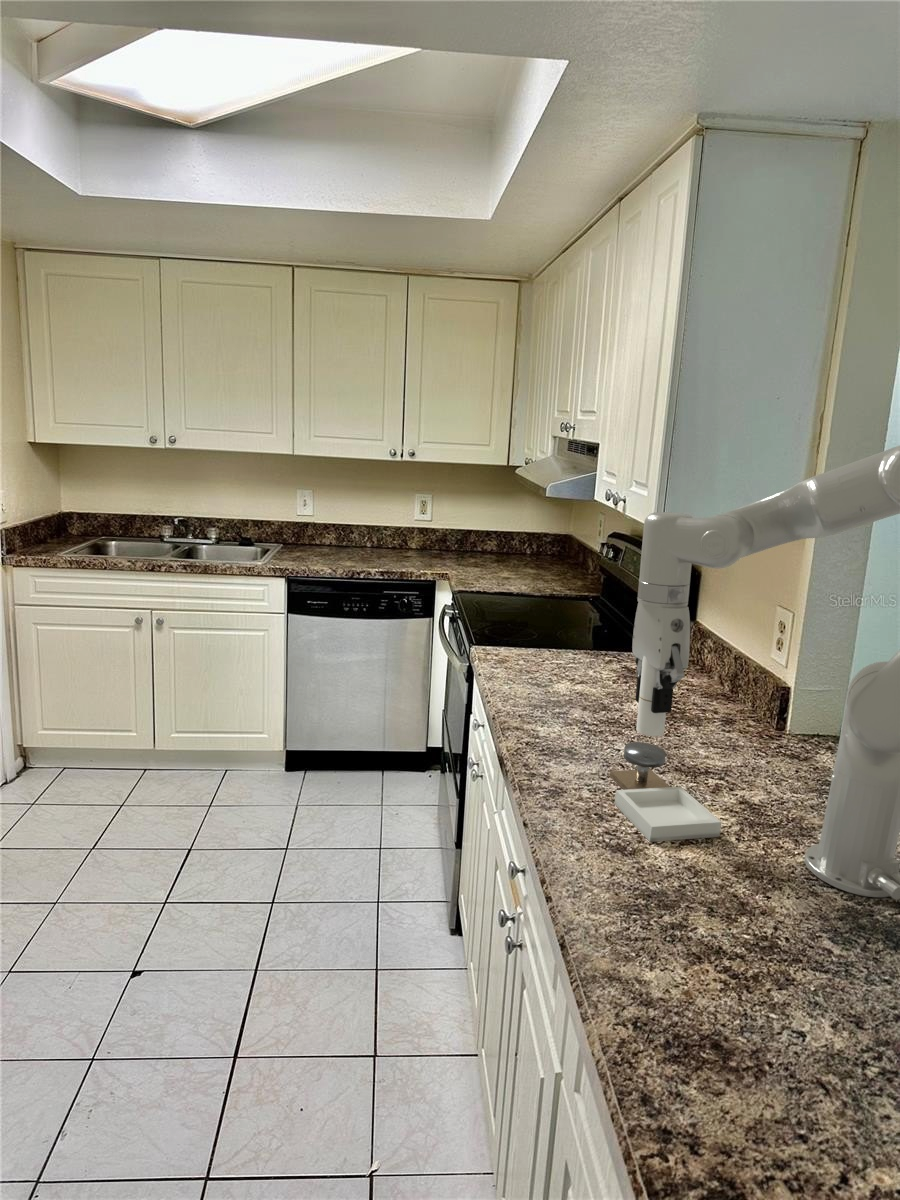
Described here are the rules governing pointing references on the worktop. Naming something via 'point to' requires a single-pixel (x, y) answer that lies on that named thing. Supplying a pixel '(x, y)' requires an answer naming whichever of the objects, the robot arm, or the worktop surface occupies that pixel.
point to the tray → (667, 814)
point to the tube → (649, 703)
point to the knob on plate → (641, 767)
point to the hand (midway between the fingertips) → (652, 705)
